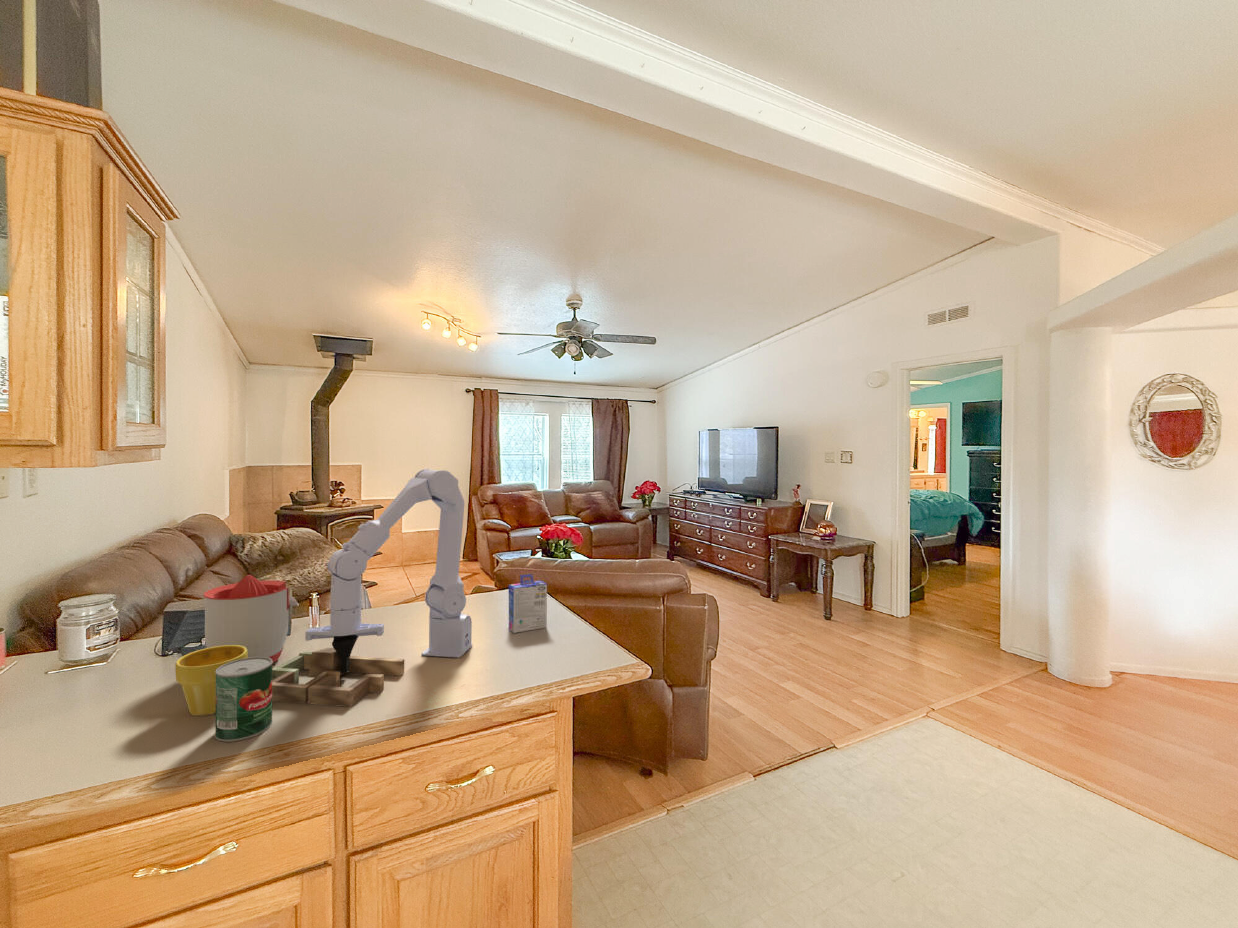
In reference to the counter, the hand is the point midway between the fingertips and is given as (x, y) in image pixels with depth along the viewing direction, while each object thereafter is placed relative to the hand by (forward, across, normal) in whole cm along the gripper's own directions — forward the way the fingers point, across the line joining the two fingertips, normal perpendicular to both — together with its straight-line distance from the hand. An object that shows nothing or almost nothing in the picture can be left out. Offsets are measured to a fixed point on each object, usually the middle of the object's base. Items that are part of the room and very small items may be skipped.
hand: (345, 670), depth 106 cm
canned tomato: (+2, +11, +18) cm, 21 cm away
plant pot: (+2, +20, +8) cm, 22 cm away
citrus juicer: (+2, +22, -13) cm, 26 cm away
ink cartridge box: (+2, -40, -24) cm, 46 cm away
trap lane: (+2, +2, +3) cm, 4 cm away
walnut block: (+1, +4, -1) cm, 4 cm away
